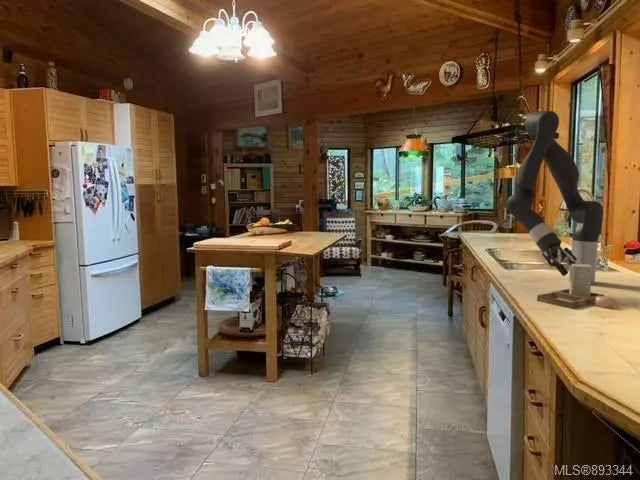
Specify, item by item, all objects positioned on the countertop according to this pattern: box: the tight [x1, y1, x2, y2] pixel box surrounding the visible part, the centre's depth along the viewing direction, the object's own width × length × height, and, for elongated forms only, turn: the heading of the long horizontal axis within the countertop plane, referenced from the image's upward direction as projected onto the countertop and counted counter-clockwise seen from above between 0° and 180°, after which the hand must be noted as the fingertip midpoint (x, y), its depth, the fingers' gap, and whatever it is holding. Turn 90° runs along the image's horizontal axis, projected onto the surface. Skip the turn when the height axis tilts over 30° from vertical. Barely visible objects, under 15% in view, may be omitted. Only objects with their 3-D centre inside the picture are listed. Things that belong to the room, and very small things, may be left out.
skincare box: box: [568, 264, 592, 298], centre depth 174 cm, size 6×4×12 cm
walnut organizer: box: [536, 287, 605, 310], centre depth 171 cm, size 21×12×2 cm, turn 125°
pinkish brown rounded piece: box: [594, 295, 614, 309], centre depth 164 cm, size 5×5×3 cm
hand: (572, 273), depth 176 cm, fingers open, 8 cm apart
